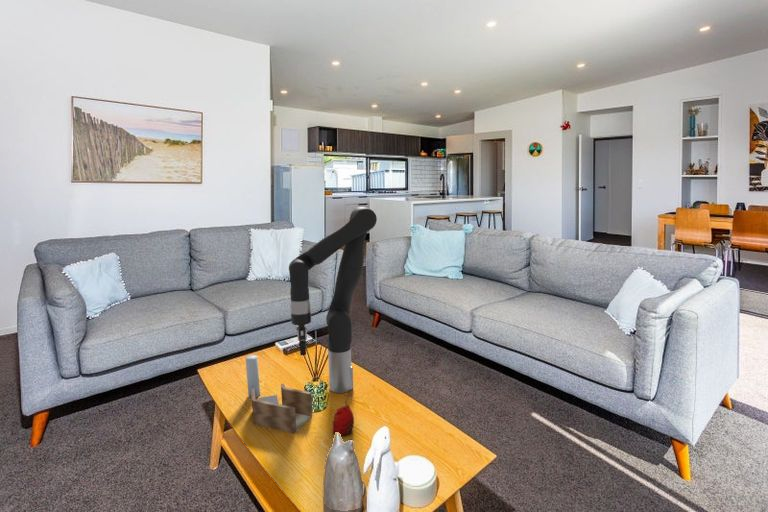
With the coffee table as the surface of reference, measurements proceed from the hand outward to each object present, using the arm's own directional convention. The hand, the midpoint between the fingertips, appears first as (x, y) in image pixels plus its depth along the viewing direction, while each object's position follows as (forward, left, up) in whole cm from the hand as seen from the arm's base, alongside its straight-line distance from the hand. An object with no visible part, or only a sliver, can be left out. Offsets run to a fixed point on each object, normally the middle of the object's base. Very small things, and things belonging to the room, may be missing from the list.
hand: (303, 351), depth 163 cm
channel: (+10, +15, -19) cm, 26 cm away
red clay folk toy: (-9, +29, -19) cm, 36 cm away
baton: (+19, -7, -19) cm, 28 cm away
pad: (+14, 0, -19) cm, 23 cm away
